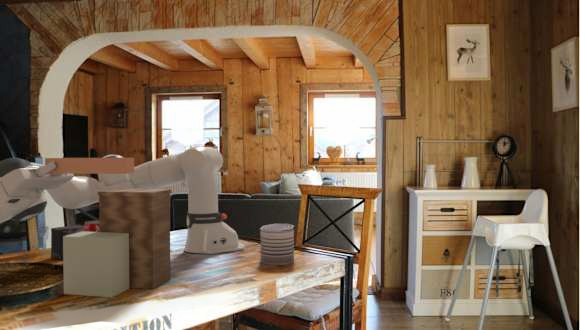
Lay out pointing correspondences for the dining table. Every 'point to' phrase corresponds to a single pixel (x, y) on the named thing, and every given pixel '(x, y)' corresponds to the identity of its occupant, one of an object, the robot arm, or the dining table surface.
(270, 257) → the can
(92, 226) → the soda can
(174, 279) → the dining table surface
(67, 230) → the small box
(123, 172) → the rail
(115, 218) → the tall stand
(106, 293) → the low block
